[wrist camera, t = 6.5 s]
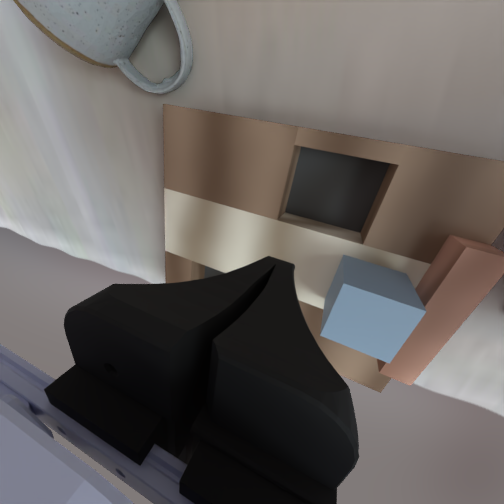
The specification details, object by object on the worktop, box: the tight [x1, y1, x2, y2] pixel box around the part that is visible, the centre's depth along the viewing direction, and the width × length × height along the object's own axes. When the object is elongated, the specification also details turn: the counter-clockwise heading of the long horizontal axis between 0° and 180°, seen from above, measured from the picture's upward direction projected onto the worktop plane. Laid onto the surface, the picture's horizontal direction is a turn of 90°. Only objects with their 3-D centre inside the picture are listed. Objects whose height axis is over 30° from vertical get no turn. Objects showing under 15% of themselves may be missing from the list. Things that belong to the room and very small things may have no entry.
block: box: [320, 254, 427, 363], centre depth 14 cm, size 4×4×4 cm
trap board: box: [163, 104, 504, 393], centre depth 17 cm, size 22×18×5 cm
